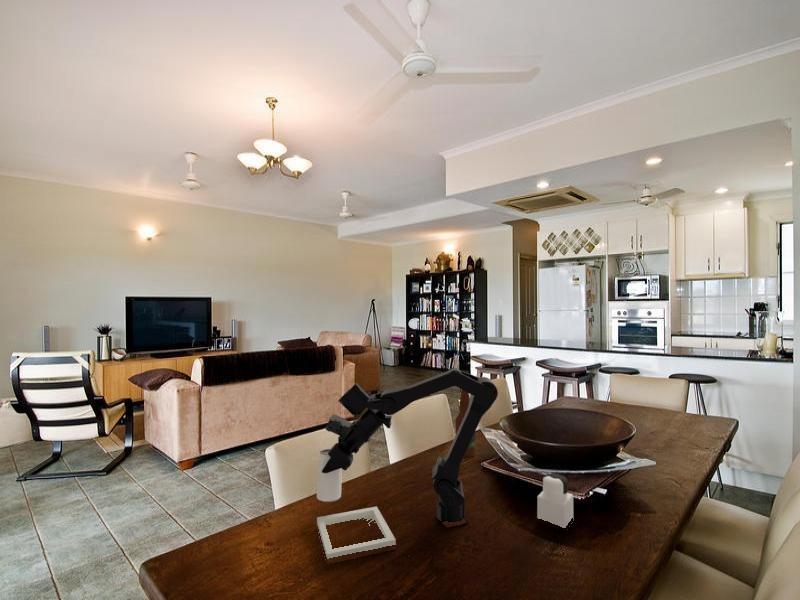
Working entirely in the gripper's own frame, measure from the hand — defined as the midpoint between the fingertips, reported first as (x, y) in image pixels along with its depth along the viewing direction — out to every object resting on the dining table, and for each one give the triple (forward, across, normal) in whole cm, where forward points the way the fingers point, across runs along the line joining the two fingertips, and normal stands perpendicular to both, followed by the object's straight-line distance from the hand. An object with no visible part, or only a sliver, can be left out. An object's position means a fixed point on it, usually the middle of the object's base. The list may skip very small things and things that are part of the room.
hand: (325, 467), depth 111 cm
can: (+5, +1, +6) cm, 8 cm away
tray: (+3, +10, +16) cm, 19 cm away
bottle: (-19, -46, +39) cm, 63 cm away
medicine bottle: (-33, -1, +53) cm, 62 cm away
